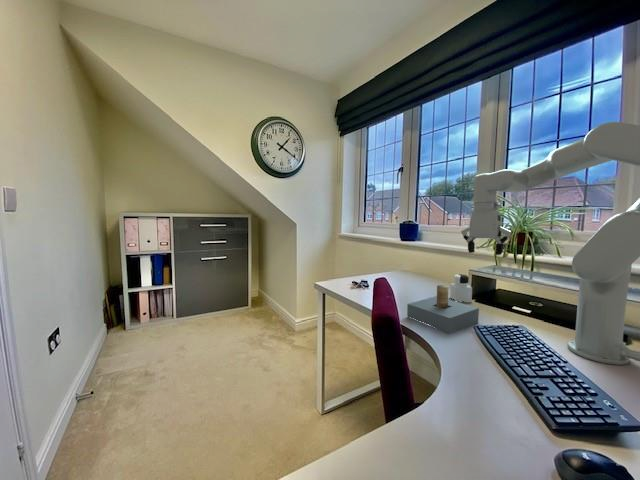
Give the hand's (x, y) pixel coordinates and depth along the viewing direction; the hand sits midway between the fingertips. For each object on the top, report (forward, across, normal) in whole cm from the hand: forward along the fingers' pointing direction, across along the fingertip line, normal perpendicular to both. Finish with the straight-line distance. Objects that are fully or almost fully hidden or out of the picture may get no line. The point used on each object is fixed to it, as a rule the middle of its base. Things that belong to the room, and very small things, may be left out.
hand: (484, 253), depth 104 cm
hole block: (+25, +10, +12) cm, 30 cm away
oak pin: (+24, +10, +12) cm, 29 cm away
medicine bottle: (+25, +18, -17) cm, 35 cm away
